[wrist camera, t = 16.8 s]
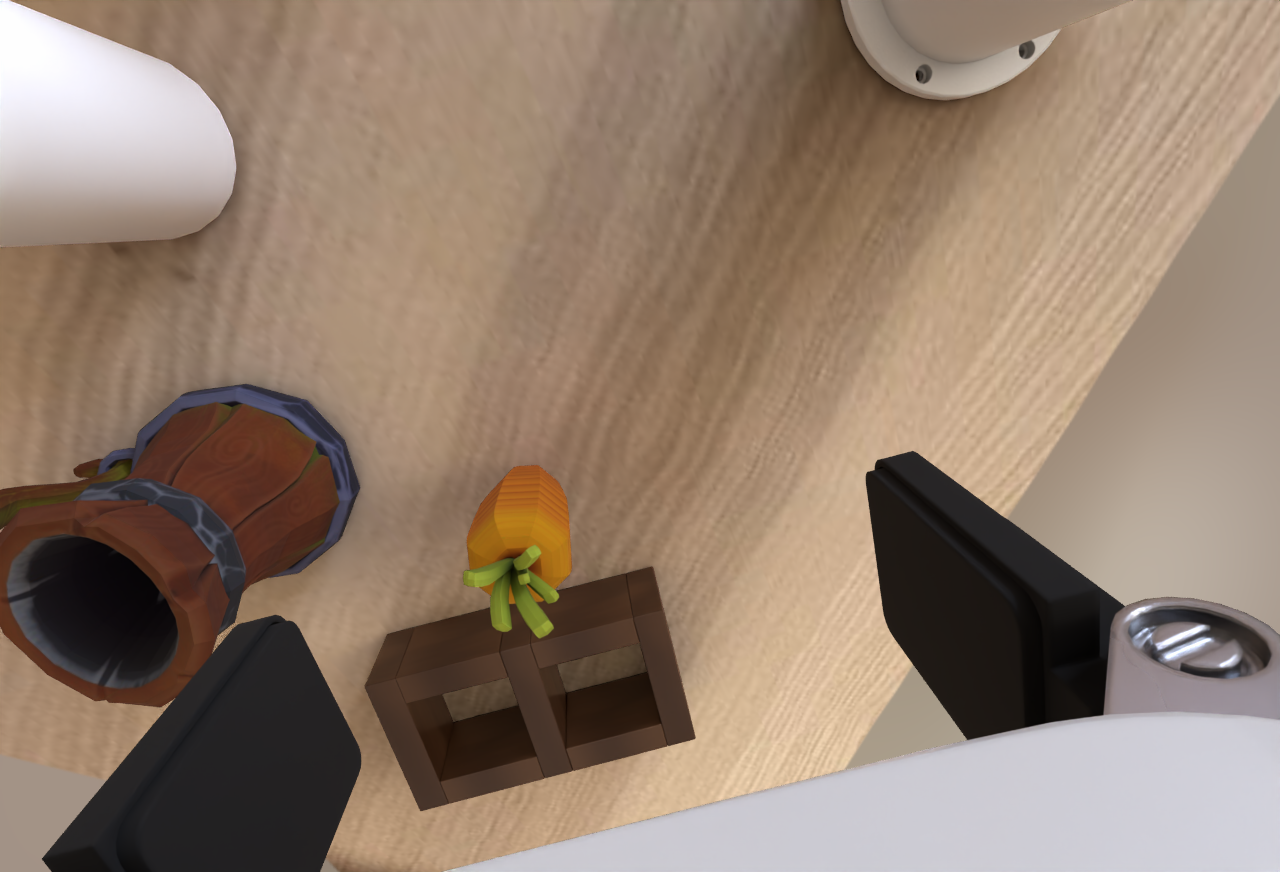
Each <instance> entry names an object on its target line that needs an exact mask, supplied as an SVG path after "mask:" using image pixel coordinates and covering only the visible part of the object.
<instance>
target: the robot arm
mask: <svg viewBox="0 0 1280 872" xmlns="http://www.w3.org/2000/svg"><path fill="white" fill-rule="evenodd" d="M1130 1H1132V0H841V4H842V8H843V13H844V17H845V21H846V24H847V26H848V28H849V31H850V33H851V35H852V38H853V40H854V42H855V45H856V46H857V48H858V49H859V51H860V52H861V54H862V55H863V56H864V58H865V59H866V61H867V62H868V64H869V65H870V66H871V67H872V68H873V69H874V70H875V71H876V72H877V73H878V74H879V75H880V76H881V77H882V78H883V79H884V80H886V81H887V82H889V83H891V84H892V85H894V86H895V87H897V88H899V89H900V90H902V91H904V92H906V93H909V94H912V95H915V96H918V97H922V98H925V99H936V100H952V99H960V98H967V97H970V96H973V95H977V94H980V93H984V92H987V91H989V90H991V89H994V88H996V87H998V86H1000V85H1002V84H1004V83H1006V82H1009V81H1010V80H1011V79H1013V78H1014V77H1016V76H1017V75H1018V74H1020V73H1021V72H1023V71H1024V70H1025V69H1027V68H1028V67H1029V66H1030V65H1031V64H1032V63H1033V62H1034V61H1035V60H1036V59H1037V58H1038V57H1039V56H1040V55H1041V54H1042V53H1043V52H1044V51H1045V50H1046V49H1047V48H1048V47H1049V45H1050V44H1051V43H1052V41H1053V40H1054V38H1055V37H1056V36H1057V34H1058V33H1059V32H1060V30H1061V29H1062V28H1063V27H1066V26H1068V25H1071V24H1073V23H1076V22H1079V21H1081V20H1084V19H1086V18H1089V17H1091V16H1094V15H1096V14H1099V13H1102V12H1104V11H1107V10H1109V9H1112V8H1114V7H1117V6H1119V5H1122V4H1125V3H1127V2H1130ZM1018 51H1019V52H1018ZM916 73H918V75H919V80H918V81H917V79H916ZM866 487H867V495H868V502H869V509H870V517H871V524H872V532H873V539H874V546H875V554H876V561H877V569H878V576H879V584H880V591H881V598H882V606H883V612H884V617H885V620H886V623H887V626H888V628H889V630H890V632H891V634H892V635H893V637H894V638H895V640H896V641H897V643H898V644H899V645H900V647H901V648H902V650H903V651H904V652H905V654H906V655H907V657H908V658H909V659H910V661H911V662H912V664H913V665H914V666H915V668H916V669H917V670H918V672H919V673H920V675H921V676H922V677H923V679H924V680H925V682H926V683H927V684H928V686H929V687H930V689H931V690H932V691H933V693H934V694H935V695H936V697H937V698H938V700H939V701H940V703H941V704H942V705H943V707H944V708H945V709H946V711H947V712H948V714H949V715H950V716H951V718H952V719H953V721H954V722H955V723H956V725H957V726H958V727H959V729H960V730H961V732H962V733H963V735H964V736H965V737H966V738H967V740H966V741H962V742H957V743H953V744H947V745H943V746H939V747H934V748H930V749H927V750H922V751H918V752H914V753H910V754H907V755H902V756H898V757H894V758H891V759H886V760H882V761H878V762H874V763H870V764H866V765H862V766H858V767H854V768H850V769H846V770H842V771H838V772H834V773H830V774H826V775H822V776H818V777H814V778H810V779H806V780H802V781H797V782H793V783H789V784H785V785H781V786H777V787H773V788H769V789H765V790H761V791H757V792H753V793H749V794H745V795H741V796H737V797H733V798H729V799H725V800H721V801H717V802H713V803H709V804H705V805H701V806H698V807H694V808H690V809H686V810H682V811H678V812H674V813H670V814H666V815H662V816H658V817H654V818H650V819H647V820H643V821H639V822H635V823H631V824H627V825H623V826H619V827H615V828H611V829H607V830H603V831H599V832H596V833H592V834H588V835H584V836H580V837H576V838H572V839H568V840H564V841H560V842H556V843H552V844H549V845H545V846H541V847H537V848H533V849H529V850H525V851H521V852H517V853H513V854H509V855H505V856H501V857H497V858H494V859H490V860H486V861H482V862H478V863H474V864H470V865H466V866H462V867H458V868H454V869H450V870H446V871H442V872H1280V635H1279V634H1278V633H1277V632H1276V631H1274V630H1273V629H1272V628H1271V627H1270V626H1269V625H1267V624H1265V623H1264V622H1262V621H1259V620H1258V619H1256V618H1254V617H1252V616H1250V615H1249V614H1247V613H1245V612H1242V611H1239V610H1236V609H1233V608H1230V607H1228V606H1225V605H1222V604H1218V603H1213V602H1209V601H1204V600H1199V599H1194V598H1178V597H1161V598H1152V599H1144V600H1141V601H1138V602H1135V603H1132V604H1129V605H1127V606H1124V605H1123V604H1121V603H1120V602H1119V601H1117V600H1116V599H1115V598H1113V597H1112V596H1111V595H1109V594H1108V593H1107V592H1105V591H1104V590H1102V589H1101V588H1100V587H1098V586H1097V585H1096V584H1094V583H1093V582H1092V581H1090V580H1089V579H1088V578H1086V577H1085V576H1084V575H1082V574H1081V573H1080V572H1078V571H1077V570H1075V569H1074V568H1072V567H1071V566H1070V565H1069V564H1067V563H1066V562H1064V561H1063V560H1062V559H1061V558H1059V557H1058V556H1057V555H1055V554H1054V553H1052V552H1051V551H1050V550H1048V549H1047V548H1046V547H1044V546H1043V545H1041V544H1040V543H1039V542H1038V541H1036V540H1035V539H1034V538H1032V537H1031V536H1030V535H1028V534H1027V533H1025V532H1024V531H1023V530H1021V529H1020V528H1019V527H1017V526H1016V525H1015V524H1013V523H1012V522H1010V521H1009V520H1008V519H1006V518H1004V517H1003V516H1001V515H1000V514H999V513H997V512H996V511H994V510H993V509H992V508H990V507H989V506H988V505H986V504H985V503H984V502H982V501H981V500H980V499H978V498H977V497H976V496H974V495H973V494H972V493H970V492H969V491H968V490H966V489H965V488H964V487H962V486H961V485H959V484H958V483H957V482H955V481H954V480H953V479H951V478H950V477H949V476H947V475H946V474H945V473H943V472H942V471H941V470H939V469H938V468H937V467H935V466H934V465H933V464H931V463H930V462H928V461H927V460H926V459H924V458H923V457H922V456H920V455H919V454H918V453H916V452H914V451H911V452H907V453H904V454H900V455H896V456H892V457H888V458H884V459H880V460H877V462H876V463H875V470H873V471H870V472H867V474H866ZM360 768H361V752H360V748H359V746H358V744H357V742H356V740H355V738H354V736H353V734H352V732H351V730H350V728H349V726H348V724H347V722H346V720H345V718H344V716H343V714H342V712H341V710H340V708H339V706H338V704H337V702H336V700H335V698H334V696H333V694H332V692H331V690H330V688H329V686H328V685H327V683H326V681H325V679H324V677H323V675H322V673H321V671H320V669H319V667H318V665H317V663H316V661H315V659H314V657H313V655H312V653H311V651H310V649H309V647H308V645H307V643H306V641H305V639H304V637H303V635H302V633H301V631H300V629H299V628H298V626H297V625H296V624H295V623H294V622H292V621H286V620H285V619H284V618H282V617H281V616H278V615H273V616H269V617H265V618H261V619H257V620H254V621H250V622H246V623H242V624H238V625H237V626H236V627H234V628H233V629H232V631H231V632H230V633H229V634H228V635H227V637H226V638H225V639H224V640H223V641H222V643H221V644H220V645H219V646H218V647H217V649H216V650H215V651H214V652H213V653H212V655H211V656H210V657H209V658H208V659H207V661H206V662H205V663H204V664H203V665H202V667H201V668H200V669H199V670H198V671H197V673H196V674H195V675H194V676H193V677H192V679H191V680H190V681H189V682H188V683H187V685H186V686H185V687H184V688H183V690H182V691H181V692H180V693H179V694H178V696H177V697H176V698H175V699H174V700H173V702H172V703H171V704H170V705H169V706H168V708H167V709H166V710H165V711H164V712H163V714H162V715H161V716H160V717H159V718H158V720H157V721H156V722H155V723H154V724H153V726H152V727H151V728H150V729H149V730H148V732H147V733H146V734H145V735H144V736H143V738H142V739H141V740H140V741H139V742H138V744H137V745H136V746H135V747H134V749H133V750H132V751H131V752H130V753H129V755H128V756H127V757H126V758H125V759H124V761H123V762H122V763H121V764H120V765H119V767H118V768H117V769H116V770H115V771H114V773H113V774H112V775H111V776H110V777H109V779H108V780H107V781H106V782H105V783H104V785H103V786H102V787H101V788H100V789H99V791H98V792H97V793H96V795H95V796H94V797H93V798H92V799H91V800H90V801H89V803H88V804H87V805H86V806H85V808H84V809H83V810H82V811H81V812H80V814H79V815H78V816H77V817H76V818H75V820H74V821H73V822H72V823H71V824H70V826H69V827H68V828H67V829H66V830H65V832H64V833H63V834H62V835H61V836H60V838H59V839H58V840H57V841H56V842H55V844H54V845H53V846H52V847H51V848H50V850H49V851H48V852H47V853H46V855H45V856H44V857H43V858H42V860H43V861H44V862H45V864H46V865H47V866H48V868H49V869H50V870H51V871H52V872H320V870H321V868H322V866H323V863H324V861H325V858H326V855H327V853H328V850H329V848H330V845H331V843H332V840H333V838H334V835H335V833H336V830H337V828H338V825H339V823H340V820H341V818H342V815H343V813H344V810H345V808H346V805H347V803H348V800H349V797H350V795H351V792H352V790H353V787H354V785H355V782H356V780H357V777H358V775H359V772H360Z"/></svg>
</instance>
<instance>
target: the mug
mask: <svg viewBox="0 0 1280 872" xmlns="http://www.w3.org/2000/svg"><path fill="white" fill-rule="evenodd" d="M74 474H75V475H76V476H77V477H84V478H88V479H85V480H82V481H79V482H73V483H60V484H47V485H32V486H22V487H14V488H7V489H2V490H0V529H2V528H4V527H5V526H6V527H5V528H4V529H3V530H2V531H1V533H0V627H1V629H2V631H3V633H4V635H5V636H6V637H7V638H9V639H10V640H11V641H12V642H13V643H14V644H15V645H16V646H17V647H18V648H19V649H20V650H21V651H23V652H24V653H25V654H26V655H27V656H28V657H29V658H30V659H31V660H32V661H33V662H34V663H36V664H37V665H38V666H39V667H40V668H41V669H42V670H43V671H44V672H45V673H46V674H47V675H49V676H51V677H52V678H54V679H56V680H58V681H60V682H62V683H63V684H65V685H67V686H69V687H71V688H72V689H74V690H76V691H78V692H80V693H81V694H83V695H85V696H87V697H89V698H91V699H92V700H94V701H101V700H107V701H108V702H109V703H125V704H135V705H144V706H153V707H162V706H164V705H165V704H167V703H168V702H170V701H171V700H173V699H174V698H176V697H177V696H178V694H179V693H180V692H181V691H182V690H183V688H184V687H185V686H186V685H187V683H188V682H189V681H190V680H191V679H192V677H193V676H194V675H195V674H196V673H197V671H198V670H199V669H200V668H201V667H202V665H203V664H204V663H205V662H206V661H207V659H208V658H209V657H210V656H211V655H212V652H213V648H214V645H215V642H216V639H217V636H218V635H219V634H220V633H221V632H223V631H224V630H225V629H227V628H228V627H229V626H230V625H232V624H233V623H234V622H235V619H236V615H237V611H238V607H239V603H240V599H241V595H242V593H243V592H244V591H245V590H246V589H247V588H248V587H249V586H250V585H251V584H254V583H256V582H259V581H261V580H263V579H266V578H271V577H278V576H284V575H291V574H297V573H300V572H301V571H302V570H303V569H305V568H306V567H307V566H308V565H309V564H311V563H312V562H313V561H314V560H316V559H317V558H318V557H319V556H321V555H322V554H323V553H324V552H326V551H327V550H328V549H329V548H330V547H332V546H333V545H334V544H335V543H337V542H338V541H339V540H340V538H341V537H342V534H343V532H344V529H345V526H346V524H347V521H348V518H349V515H350V513H351V510H352V507H353V504H354V502H355V499H356V497H357V494H358V492H359V490H360V486H359V483H358V480H357V477H356V474H355V471H354V468H353V464H352V461H351V458H350V455H349V452H348V449H347V446H346V443H345V440H344V439H343V438H342V437H341V436H340V435H339V434H338V433H337V431H336V430H335V429H334V428H333V427H332V426H331V425H330V424H329V423H328V422H327V421H326V420H325V419H324V418H323V417H322V416H321V414H320V413H319V412H318V411H317V410H316V409H315V408H314V407H313V406H312V405H311V404H310V403H309V402H308V401H307V400H303V399H300V398H296V397H293V396H289V395H285V394H282V393H278V392H274V391H271V390H267V389H263V388H260V387H256V386H253V385H249V384H242V385H235V386H228V387H220V388H213V389H206V390H198V391H192V392H188V393H185V394H183V395H181V396H180V397H179V398H178V399H177V400H175V401H174V402H173V403H172V404H171V405H170V406H168V407H167V408H166V409H165V410H164V411H162V412H161V413H160V414H159V415H158V416H156V417H155V418H154V419H153V420H152V421H151V422H149V423H148V424H147V425H146V426H145V427H143V428H142V429H141V430H140V432H139V433H138V436H137V441H136V447H135V448H128V449H122V450H116V451H113V452H111V453H110V454H109V455H108V456H106V457H105V458H104V459H97V460H93V461H90V462H86V463H83V464H79V465H78V466H77V467H76V468H74Z"/></svg>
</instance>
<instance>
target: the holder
mask: <svg viewBox="0 0 1280 872" xmlns="http://www.w3.org/2000/svg"><path fill="white" fill-rule="evenodd" d="M556 592H557V593H558V594H559V598H558V600H557V601H556V602H553V603H549V604H548V603H547V602H546V601H545V600H543V601H542V602H536V603H537V604H538V605H539V607H540V608H541V609H542V610H543V611H544V613H545V614H546V616H547V617H548V619H549V620H550V622H551V623H552V625H553V627H554V629H553V630H552V631H551V632H550V633H549V634H548V635H546V636H544V637H541V638H538V637H537V636H536V635H535V634H534V632H533V631H532V630H531V629H530V628H529V626H528V625H527V624H526V622H525V621H524V619H523V617H522V615H521V614H520V612H519V610H518V608H517V606H516V604H509V606H510V614H511V623H512V629H511V630H509V631H508V632H502V631H499V630H496V629H495V628H494V627H493V626H492V621H491V613H490V608H488V609H484V610H480V611H476V612H472V613H468V614H465V615H461V616H457V617H453V618H449V619H445V620H441V621H437V622H433V623H429V624H425V625H421V626H417V627H414V628H410V629H406V630H402V631H398V632H394V633H390V634H387V637H386V639H385V641H384V643H383V646H382V648H381V650H380V652H379V655H378V657H377V659H376V662H375V664H374V666H373V668H372V671H371V673H370V675H369V677H368V680H367V682H366V684H365V689H366V691H367V693H368V696H369V698H370V700H371V702H372V705H373V707H374V709H375V711H376V713H377V716H378V718H379V720H380V722H381V725H382V727H383V729H384V731H385V733H386V736H387V738H388V740H389V742H390V745H391V747H392V749H393V751H394V753H395V756H396V758H397V760H398V762H399V765H400V767H401V769H402V771H403V773H404V776H405V778H406V780H407V782H408V785H409V787H410V789H411V791H412V793H413V796H414V798H415V800H416V802H417V805H418V807H419V809H420V811H423V810H427V809H431V808H435V807H439V806H442V805H446V804H449V803H454V802H457V801H461V800H465V799H469V798H473V797H476V796H480V795H484V794H488V793H492V792H496V791H499V790H503V789H507V788H511V787H515V786H518V785H522V784H526V783H530V782H534V781H538V780H541V779H544V777H545V778H548V777H552V776H556V775H559V774H563V773H567V772H571V771H572V770H573V771H575V770H579V769H583V768H587V767H590V766H594V765H598V764H602V763H606V762H609V761H613V760H617V759H621V758H625V757H628V756H632V755H636V754H640V753H644V752H648V751H651V750H655V749H659V748H663V747H666V746H667V745H668V746H671V745H674V744H678V743H682V742H686V741H690V740H693V739H695V738H696V737H695V733H694V729H693V725H692V721H691V717H690V713H689V708H688V704H687V700H686V696H685V692H684V688H683V684H682V680H681V676H680V672H679V668H678V664H677V660H676V656H675V652H674V648H673V644H672V640H671V636H670V632H669V628H668V624H667V620H666V616H665V612H664V608H663V604H662V600H661V596H660V592H659V588H658V585H657V581H656V577H655V573H654V569H653V567H650V568H646V569H642V570H638V571H634V572H630V573H627V574H622V575H618V576H614V577H610V578H606V579H602V580H598V581H594V582H591V583H587V584H583V585H579V586H575V587H571V588H567V589H563V590H559V591H556ZM639 642H640V646H641V650H642V653H643V657H644V661H645V664H646V668H647V672H648V673H644V674H640V675H636V676H632V677H628V678H624V679H620V680H617V681H613V682H609V683H605V684H601V685H597V686H593V687H590V688H586V689H582V690H578V691H574V692H570V693H567V694H566V692H565V689H564V686H563V683H562V680H561V677H560V674H559V671H558V668H557V665H556V664H560V663H564V662H568V661H572V660H576V659H579V658H583V657H587V656H591V655H595V654H599V653H603V652H607V651H611V650H614V649H618V648H622V647H626V646H630V645H634V644H638V643H639ZM506 677H509V680H510V682H511V685H512V688H513V691H514V694H515V696H516V699H517V702H518V705H519V706H516V707H512V708H508V709H504V710H500V711H496V712H493V713H489V714H485V715H481V716H477V717H473V718H469V719H466V720H462V721H458V722H454V723H453V721H452V718H451V716H450V713H449V711H448V708H447V706H446V703H445V701H444V698H443V696H442V694H444V693H448V692H452V691H456V690H460V689H464V688H468V687H472V686H475V685H479V684H483V683H487V682H491V681H495V680H499V679H503V678H506Z"/></svg>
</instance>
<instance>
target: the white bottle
mask: <svg viewBox="0 0 1280 872" xmlns="http://www.w3.org/2000/svg"><path fill="white" fill-rule="evenodd" d="M236 168H237V167H236V160H235V153H234V146H233V140H232V137H231V135H230V132H229V130H228V128H227V126H226V124H225V121H224V119H223V117H222V115H221V113H220V110H219V109H218V108H217V107H216V105H215V104H214V103H213V102H212V101H211V99H210V98H209V97H208V96H207V95H206V93H205V92H204V91H203V90H202V88H201V87H200V86H199V85H198V84H197V83H196V82H194V81H193V80H192V79H190V78H189V77H187V76H186V75H185V74H183V73H182V72H180V71H179V70H178V69H176V68H175V67H174V66H172V65H171V64H169V63H167V62H165V61H162V60H159V59H157V58H154V57H152V56H149V55H147V54H144V53H142V52H139V51H137V50H134V49H131V48H129V47H126V46H124V45H121V44H119V43H116V42H114V41H111V40H109V39H106V38H103V37H101V36H98V35H96V34H93V33H91V32H88V31H86V30H83V29H81V28H78V27H75V26H73V25H70V24H68V23H65V22H63V21H60V20H58V19H55V18H53V17H50V16H47V15H45V14H42V13H40V12H37V11H35V10H32V9H30V8H27V7H25V6H22V5H20V4H17V3H14V2H12V1H9V0H0V247H21V246H42V245H64V244H85V243H106V242H127V241H148V240H169V239H175V238H179V237H182V236H185V235H188V234H192V233H195V232H198V231H200V230H201V229H202V228H204V227H205V226H206V225H207V224H209V223H210V222H211V221H213V220H214V219H215V218H216V217H218V216H219V215H220V213H221V211H222V210H223V208H224V206H225V205H226V203H227V201H228V200H229V198H230V196H231V194H232V191H233V185H234V179H235V173H236Z"/></svg>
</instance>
